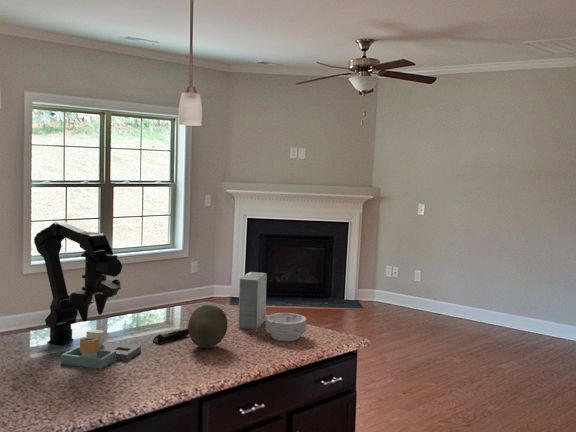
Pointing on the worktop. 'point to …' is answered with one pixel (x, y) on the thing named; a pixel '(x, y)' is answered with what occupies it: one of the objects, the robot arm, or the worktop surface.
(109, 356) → the parts tray
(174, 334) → the electric trimmer
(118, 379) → the worktop surface
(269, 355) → the worktop surface
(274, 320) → the paper bowls
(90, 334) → the block
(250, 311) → the hard drive box
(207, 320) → the cantaloupe
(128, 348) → the block
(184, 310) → the worktop surface
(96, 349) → the block
